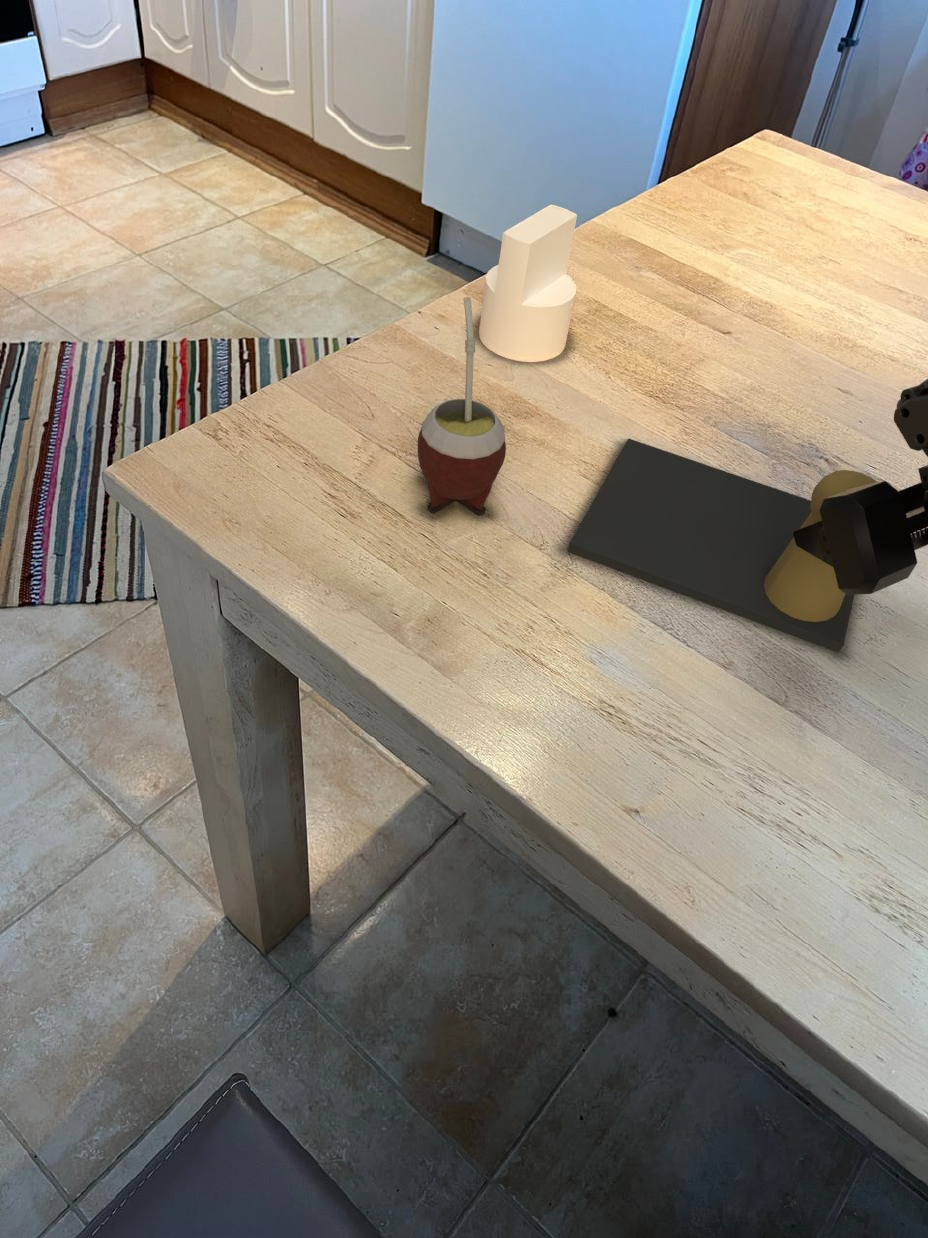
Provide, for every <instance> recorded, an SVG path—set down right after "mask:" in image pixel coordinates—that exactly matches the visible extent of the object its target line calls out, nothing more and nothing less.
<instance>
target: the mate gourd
mask: <svg viewBox="0 0 928 1238" xmlns="http://www.w3.org/2000/svg"><path fill="white" fill-rule="evenodd" d="M463 306H464V316H465V317H464V318H465V330H466V339H464V353H465V354H466V357H465V359H466V360H465V394H464V398H455V399H454V398H453V399H448V400H445V401H443V402H440V403H439V404H437V405H436V406H434V407H433V408H432V409H431V410H430V412H429V413H428V414H427V415H426V417H425V418H424V420H423V421H422V422H421V428H420V430H419V433H418V437H417V459H418V463H419V468H420V470H421V473H422V475H423V477H424V479H425V480H426V482H427V484H428V491H429V496H430V501H431V502H430V503H429V504H427V511H428V512H429V513H431V514H433V515H435V514H436V513H439V512H440V511H442V510H443V509H445V508H446V507H448V506H450V505H451V504H454V503H455V502H456V503H458V504H460V505H462V506H463V507H464V508H466V509H467V510H469V511H470V512H472V513H473V514H475V515H476V516H478V517H482V516H483V515H485V514H486V511H487V508H486V507H485V506H484V504H485V502H486V501H487V499H488V497H489V495H490V493H491V489H492V486H493V483H494V482H495V481H496V479H497V477H498V475H499V473H500V471H501V469H502V467H503V465H504V462H505V458H506V451H507V444H506V433H505V426H504V424H503V422H502V420H501V419H500V418H499V417H498V415H497V413H495V411H494V409H492V408H491V407H490V406H488V405H487V404H484V403H483V402H480V401H477V400H474V399H473V384H474V380H473V379H474V353H476V339H475V334H474V333H475V332H474V320H473V310H472V300H471V297H470V296H465V297H463Z"/></svg>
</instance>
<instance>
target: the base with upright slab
mask: <svg viewBox="0 0 928 1238" xmlns="http://www.w3.org/2000/svg"><path fill="white" fill-rule="evenodd" d="M577 219H578V214H577V213H575V212H573V211H571V210H569V209H567V208H565V207H561V206H558V205H555V204H549V205H548V206H545V207H544V208H542V209H540V210H538V211H536V212H535V213H534V214H532V215H530V216H528V217H527V218H525V219H523V220H522V221H520V222H518V223H517V224H515V225H513V226H511V227H510V228H508V229H506V230H505V231H503V232H502V238H501V246H500V253H499V260H498V264H497V265H495V266H493V267H491V269H489V270H488V271H487V273H486V275H485V281H484V289H483V296H482V304H481V312H480V320H479V327H478V335H479V336H478V337H479V339H480V341H481V343H482V345H483V346H485V348H487V349H488V350H489V351H491V352H493V353H494V354H496V355H498V356H500V357H502V358H505V359H508V360H512V361H516V362H517V361H518V362H524V363H525V362H527V363H535V362H537V363H538V362H544V361H549V360H553V359H554V358H556V357H557V356H559V355H560V354H561V353H562V352H563V351H564V350H565V347H566V345H567V344H566V343H567V340H568V333H569V329H570V324H571V319H572V314H573V310H574V305H575V299H576V295H577V285H576V282H575V281H574V280H573V278H572V277H571V276H569V275H568V274H567V271H568V266H569V261H570V256H571V250H572V244H573V240H574V235H575V229H576V224H577Z"/></svg>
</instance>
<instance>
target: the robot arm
mask: <svg viewBox="0 0 928 1238" xmlns="http://www.w3.org/2000/svg"><path fill="white" fill-rule="evenodd" d="M893 422H894V424H895V425H896V427H897V429H898V431H899V432H900V434H901V436H902V438H903V440H904V441H905V443H906V444H907V446H908V448H909V449H910V450H913V451H917V452H920V451H923V453H924V455H925V456H926V458H928V378H926V379H925V380H923V381H922V382H921V383H920V384H918V385H915V386H911V387H909V388H906V389H903V390H902V391H901V393H900V399H898V400H897V402H896V408H895V410H894V411H893ZM918 474H919V478H920V482H918V483H915V484H913V485H911V486H908V487H906V488H903V489H900V490H898V489H897V488H896V487H894V486H893V485H891V484H890V483H889V482H887V481H886V480H882V481H877V482H876V483H870V484H866V485H862V486H858V487H855V488H851V489H849V490H846V491H843V492H841V493H838V494H835V495H832V496H830V497H827V498H824V499H823V502H822V504H821V507H820V514H821V519H822V520H821V521H818V522H816V523H813V524H810V525H808V526H805V527H803V528H800V529H798V530H795V531H794V532H793V535H794V539H795V543H796V545H797V546H798V547H799V548H801V549H803V550H805V551H806V552H808V553H810V554H811V555H813V556H815V557H817V558H818V559H820V560H822V561H823V562H825V563H827V564H828V565H830V566H832V567H833V568H834V572H835V576H836V580H837V584H838V588H839V589H840V590H841V591H842V592H844V593H845V594H847V595H854V596H856V595H857V596H858V595H872V594H874V593H878V592H879V591H881V590H884V589H886V588H888V587H891V586H893V585H896V584H898V583H900V582H901V581H902V582H903V581H904V580H906V579H909V577H910V576H911V574H912V572H913V571H914V569H915V567H916V566H917V564H918V560H917V555H916V551H917V550H920V549H922V548H924V547H927V546H928V464H926V465H924V466H921V467H918Z"/></svg>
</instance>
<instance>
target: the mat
mask: <svg viewBox="0 0 928 1238" xmlns="http://www.w3.org/2000/svg"><path fill="white" fill-rule="evenodd" d="M810 503H811V499H807V498H805V497H802V496H799V495H795V494H794V493H790V492H787V491H784V490H781V489H778V488H775V487H773V486H770V485H766V484H763V483H762V482H761V483H760V482H758V481H754V480H752V479H749V478H746V477H742V476H740V475H737V474H734V473H731V472H728V471H726V470H723V469H720V468H717V467H713V466H711V465H707V464H704V463H702V462H699V461H697V460H693V459H690V458H688V457H684V456H681V455H679V454H676V453H673V452H670V451H667V450H664V449H661V448H658V447H655V446H652V445H649V444H646V443H643V442H640V441H637V440H635V439H632V438H627V440H626V441H625V444H623V447H622V449H621V451H620V452H619V454H618V456H617V458H616V459H615V462H614V463H613V465H612V467H611V469H610V470H609V472H608V474H607V476H606V478H605V479H604V482H603V483H602V485H601V487H600V488H599V490H598V492H597V494H596V495H595V497H594V499H593V501H592V502H591V504H590V507H589V508H588V510H587V512H586V513H585V515H584V517H583V519H582V521H580V524H579V526H578V528H577V530H576V532H575V533H574V535H573V537H572V538H571V541H570V542H569V545H568V549H567V553H570V554H573V555H575V556H577V557H581V558H583V559H586V560H589V561H590V562H593V563H595V564H599V565H602V566H605V567H607V568H610V569H613V570H616V571H618V572H621V573H623V574H626V575H629V576H631V577H634V578H637V579H639V580H643V581H645V582H647V583H650V584H653V585H656V586H658V587H661V588H664V589H666V590H669V591H672V592H675V593H677V594H679V595H683V596H684V597H688V598H690V599H693V600H696V601H698V602H701V603H704V604H707V605H709V606H712V607H715V608H716V609H720V610H723V611H725V612H728V613H731V614H733V615H736V616H738V617H742V618H744V619H747V620H749V621H752V622H755V623H758V624H760V625H763V626H766V627H769V628H771V629H773V630H776V631H778V632H781V633H784V634H787V635H790V636H792V637H795V638H797V639H800V640H802V641H803V640H804V641H806V642H809V643H812V644H814V645H816V646H819V647H822V648H824V649H827V650H831V651H833V652H835V653H840V652H841V650H842V648H843V646H844V644H845V640H846V635H847V630H848V627H849V626H848V625H849V620H850V616H851V612H852V607H853V603H854V598H855V595H847V594H845V596H844V599H843V602H842V604H841V607H840V610H839V611H838V612H837V614H836V615H835V616H834V617H832V618H830V619H828V620H826V621H820V622H810V621H803V620H800V619H797V618H793V617H791V616H789V615H787V614H786V613H784V612H782V611H780V610H779V609H778V608H777V607H776V606H775V605H774V604H772V603H771V601H770V600H769V598H768V597H767V595H766V593H765V589H764V582H765V577H766V576H767V575H768V573H769V572H770V570H771V569H772V567H773V566H774V565H775V563H776V562H777V560H778V559H779V557H780V556H781V555H782V553H783V552H784V550H785V549H786V547H787V546H788V545H789V543H790V542H791V540H792V539H793V538H794V535H793V532H794V531H795V530H798V529H800V528H801V526H802V525H803V523H804V522H805V520H806V519H807V518H808V516H809V515H810V513H811V512H812V511H811V508H810Z"/></svg>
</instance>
